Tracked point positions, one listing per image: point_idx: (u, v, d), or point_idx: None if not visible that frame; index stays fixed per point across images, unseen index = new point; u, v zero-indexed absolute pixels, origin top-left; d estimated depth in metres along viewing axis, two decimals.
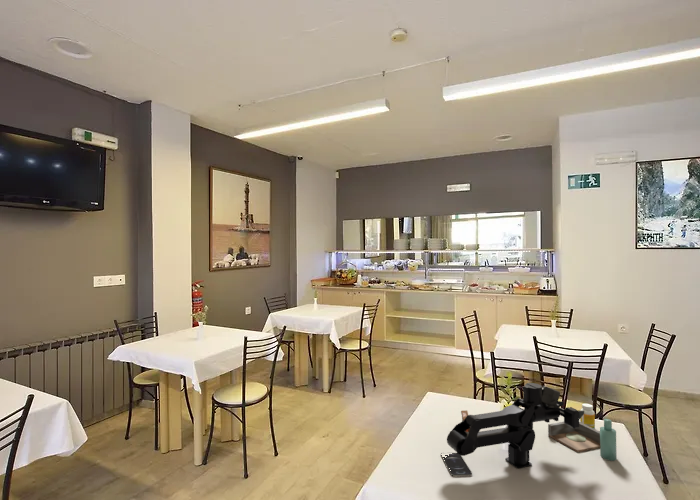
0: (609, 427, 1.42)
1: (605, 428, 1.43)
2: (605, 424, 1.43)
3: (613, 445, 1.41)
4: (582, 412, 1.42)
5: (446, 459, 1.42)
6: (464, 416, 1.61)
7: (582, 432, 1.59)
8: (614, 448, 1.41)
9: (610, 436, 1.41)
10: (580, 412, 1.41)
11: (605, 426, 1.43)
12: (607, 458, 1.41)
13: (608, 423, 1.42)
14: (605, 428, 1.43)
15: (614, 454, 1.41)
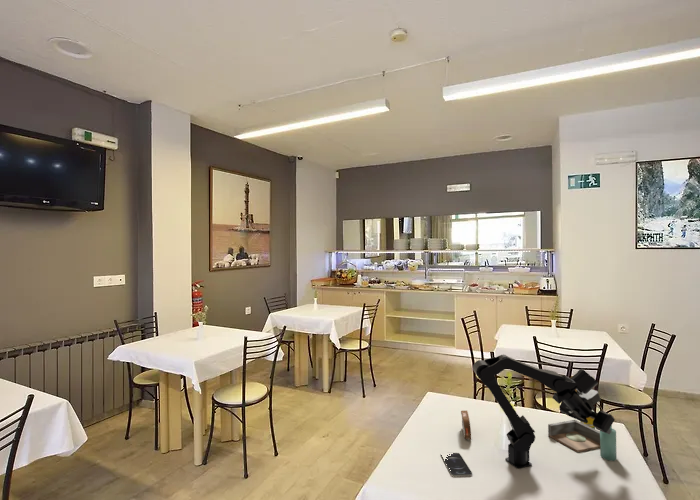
0: None
1: None
2: None
3: (613, 445, 1.41)
4: (609, 431, 1.37)
5: (446, 459, 1.42)
6: (464, 416, 1.61)
7: (582, 432, 1.59)
8: (614, 448, 1.41)
9: (610, 436, 1.41)
10: (609, 428, 1.36)
11: None
12: (607, 458, 1.41)
13: None
14: None
15: (614, 454, 1.41)
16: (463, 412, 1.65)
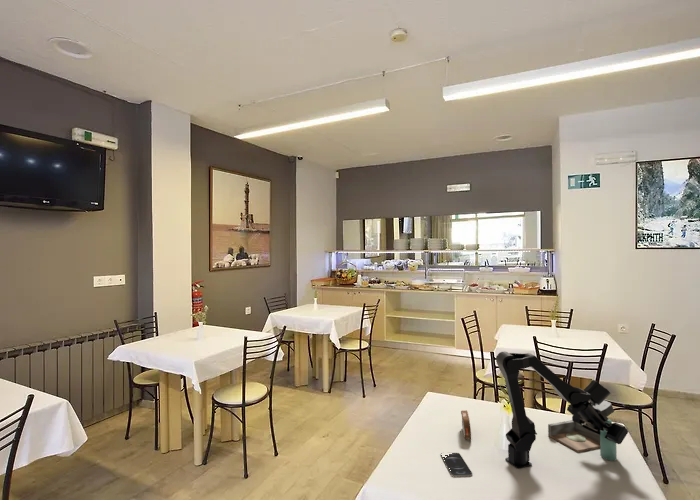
0: None
1: None
2: None
3: (613, 445, 1.41)
4: None
5: (446, 459, 1.42)
6: (464, 416, 1.61)
7: (582, 432, 1.59)
8: (614, 448, 1.41)
9: None
10: None
11: None
12: (607, 458, 1.41)
13: (608, 423, 1.42)
14: None
15: (614, 454, 1.41)
16: (463, 412, 1.65)
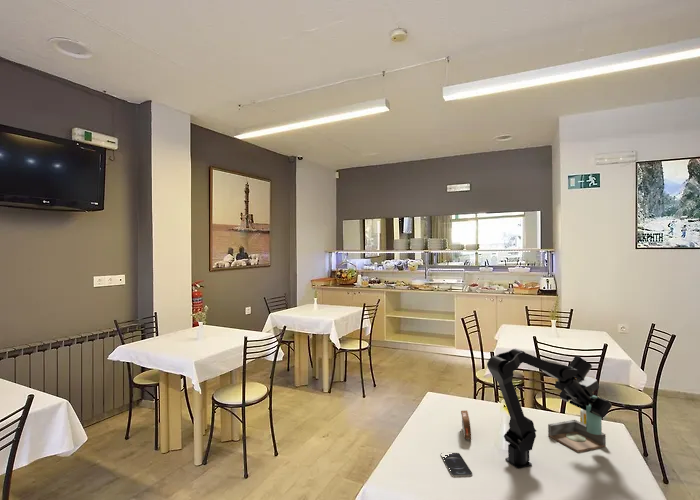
0: None
1: None
2: None
3: (598, 420, 1.46)
4: None
5: (446, 459, 1.42)
6: (464, 416, 1.61)
7: (582, 432, 1.59)
8: (599, 423, 1.46)
9: None
10: None
11: None
12: (592, 432, 1.47)
13: None
14: None
15: (599, 428, 1.46)
16: (463, 412, 1.64)
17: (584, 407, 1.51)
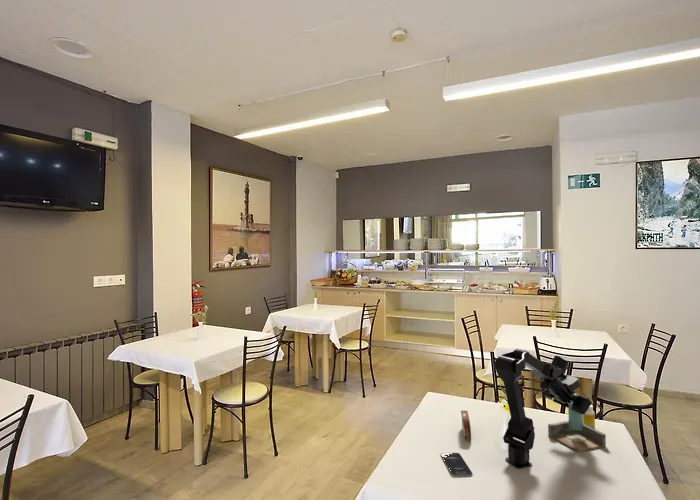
0: None
1: None
2: None
3: (580, 416, 1.54)
4: None
5: (446, 459, 1.42)
6: (464, 416, 1.61)
7: (582, 432, 1.59)
8: (580, 419, 1.54)
9: None
10: None
11: None
12: (574, 428, 1.54)
13: None
14: None
15: (580, 425, 1.54)
16: (463, 412, 1.64)
17: (566, 405, 1.59)
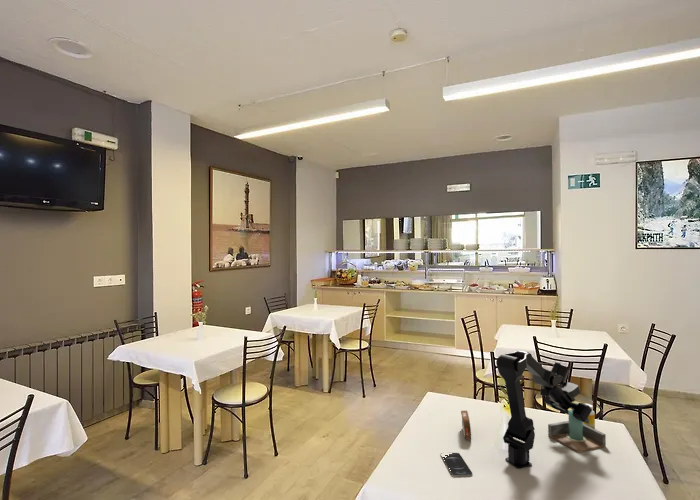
0: None
1: None
2: None
3: (580, 426, 1.54)
4: (588, 421, 1.52)
5: (446, 459, 1.42)
6: (464, 416, 1.61)
7: None
8: (581, 429, 1.54)
9: None
10: (587, 418, 1.51)
11: None
12: (574, 438, 1.54)
13: None
14: (573, 410, 1.56)
15: (581, 434, 1.54)
16: (463, 412, 1.64)
17: (563, 410, 1.60)
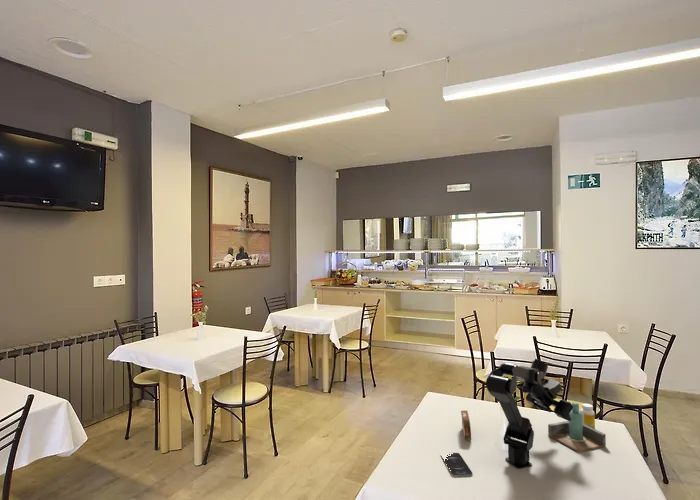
0: (576, 410, 1.55)
1: (573, 411, 1.56)
2: (573, 407, 1.56)
3: (580, 426, 1.54)
4: (569, 418, 1.49)
5: (446, 459, 1.42)
6: (464, 416, 1.61)
7: None
8: (581, 429, 1.54)
9: (577, 418, 1.54)
10: (569, 415, 1.49)
11: (573, 409, 1.56)
12: (574, 438, 1.54)
13: (575, 406, 1.55)
14: (573, 410, 1.56)
15: (581, 434, 1.54)
16: (463, 412, 1.64)
17: (545, 407, 1.58)
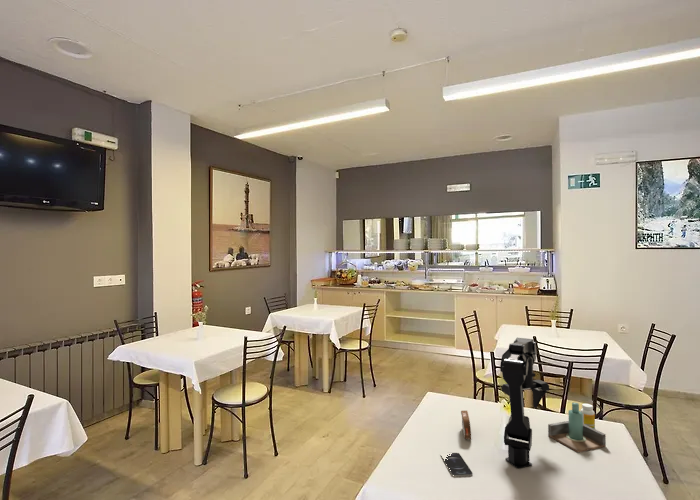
0: (576, 410, 1.55)
1: (573, 411, 1.56)
2: (573, 407, 1.56)
3: (580, 426, 1.54)
4: None
5: (446, 459, 1.42)
6: (464, 416, 1.61)
7: None
8: (581, 429, 1.54)
9: (577, 418, 1.54)
10: None
11: (573, 409, 1.56)
12: (574, 438, 1.54)
13: (575, 406, 1.55)
14: (573, 410, 1.56)
15: (581, 434, 1.54)
16: (463, 412, 1.64)
17: None
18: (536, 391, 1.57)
